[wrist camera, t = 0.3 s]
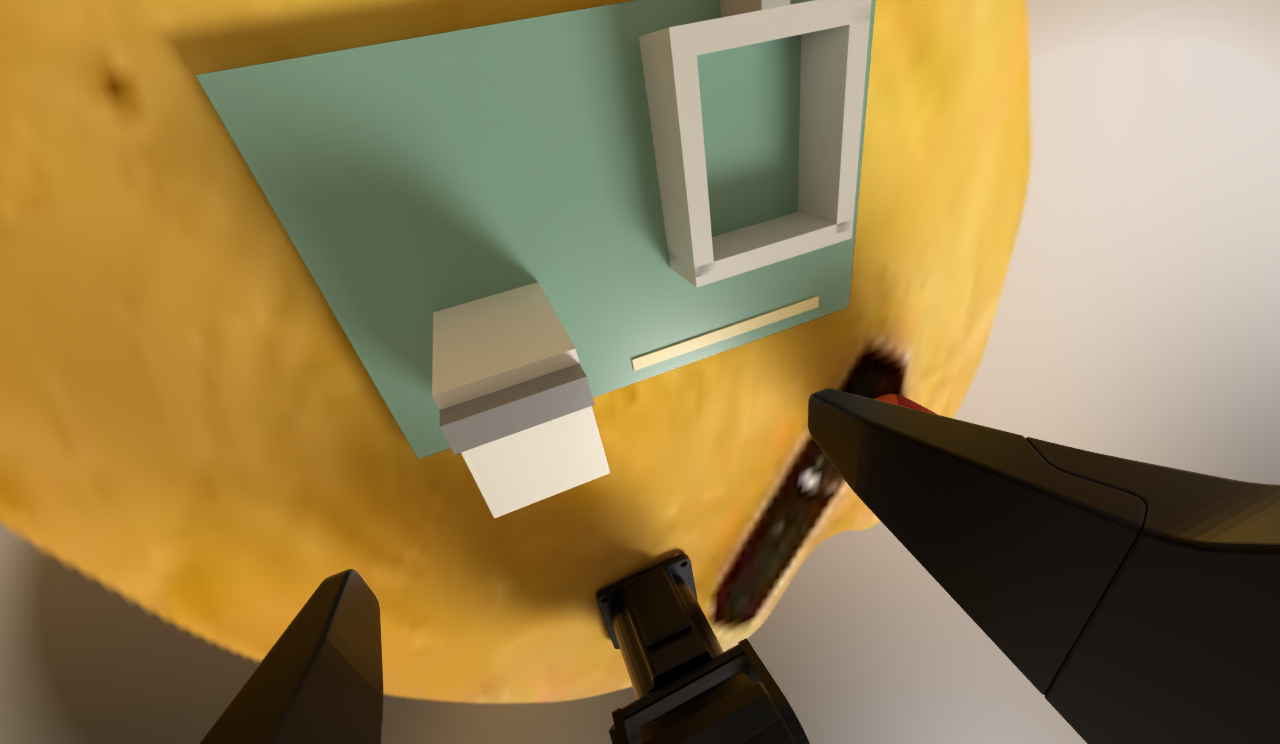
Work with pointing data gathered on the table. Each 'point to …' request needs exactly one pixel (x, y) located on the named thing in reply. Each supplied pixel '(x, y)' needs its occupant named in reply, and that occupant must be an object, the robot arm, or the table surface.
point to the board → (571, 179)
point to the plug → (515, 398)
